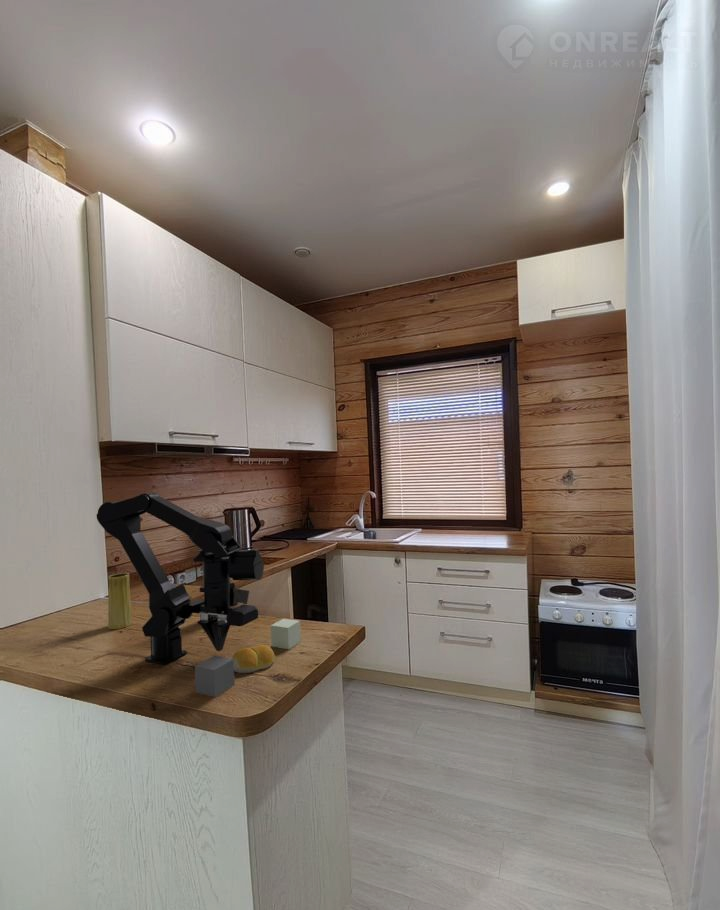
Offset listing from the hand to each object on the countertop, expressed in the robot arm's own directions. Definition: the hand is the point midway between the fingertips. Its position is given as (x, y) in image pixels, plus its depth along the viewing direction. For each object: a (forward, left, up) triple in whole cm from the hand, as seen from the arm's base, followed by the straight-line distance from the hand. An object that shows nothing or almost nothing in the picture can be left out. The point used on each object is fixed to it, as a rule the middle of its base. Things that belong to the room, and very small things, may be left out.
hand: (219, 650), depth 98 cm
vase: (-44, +7, -2) cm, 45 cm away
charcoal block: (+10, -11, -2) cm, 15 cm away
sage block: (+10, +12, -2) cm, 15 cm away
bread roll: (+9, 0, -2) cm, 10 cm away
